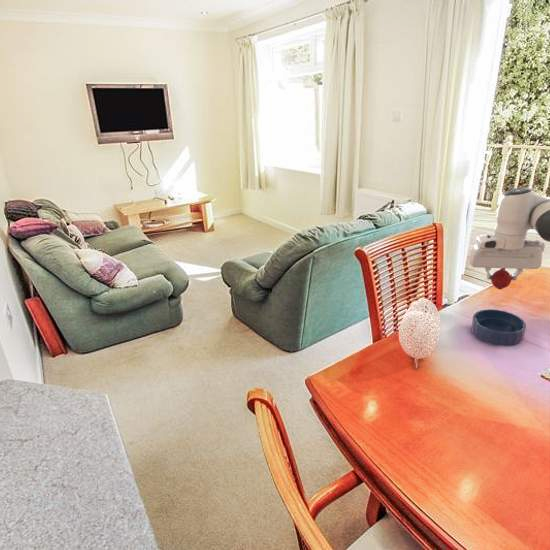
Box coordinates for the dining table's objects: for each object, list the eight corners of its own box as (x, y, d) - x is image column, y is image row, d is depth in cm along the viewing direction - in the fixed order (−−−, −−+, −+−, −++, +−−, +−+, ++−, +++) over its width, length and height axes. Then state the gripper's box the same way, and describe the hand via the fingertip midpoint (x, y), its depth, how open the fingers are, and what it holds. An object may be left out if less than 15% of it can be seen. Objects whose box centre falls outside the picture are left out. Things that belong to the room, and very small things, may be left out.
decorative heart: (430, 381, 101) (436, 327, 94) (390, 370, 106) (393, 318, 99) (440, 345, 115) (446, 296, 108) (405, 337, 120) (408, 290, 113)
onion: (506, 294, 122) (510, 272, 119) (487, 290, 126) (490, 269, 123) (511, 287, 126) (515, 266, 123) (492, 284, 130) (495, 262, 127)
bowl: (514, 323, 123) (517, 310, 121) (529, 349, 110) (532, 334, 108) (467, 321, 126) (469, 308, 124) (476, 345, 114) (478, 331, 112)
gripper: (542, 237, 119) (533, 276, 125) (471, 236, 124) (466, 274, 130) (550, 243, 114) (540, 284, 119) (475, 243, 119) (470, 282, 124)
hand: (501, 279), depth 125 cm, fingers closed on onion, 6 cm apart
